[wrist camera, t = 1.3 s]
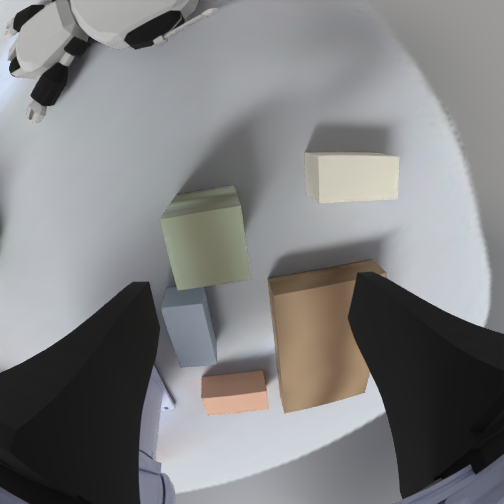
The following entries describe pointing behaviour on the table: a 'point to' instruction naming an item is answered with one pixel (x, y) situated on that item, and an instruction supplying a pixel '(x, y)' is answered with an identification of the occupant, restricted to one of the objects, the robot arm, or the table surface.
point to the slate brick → (190, 326)
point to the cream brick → (351, 176)
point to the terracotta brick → (234, 393)
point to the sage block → (206, 238)
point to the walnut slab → (317, 336)
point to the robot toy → (85, 37)
